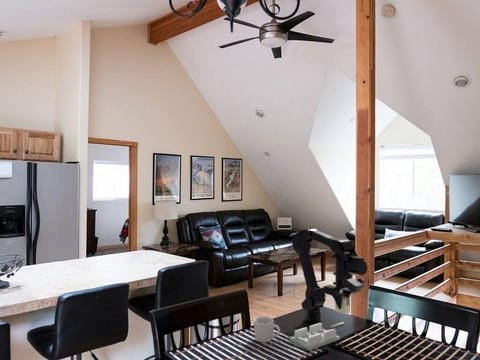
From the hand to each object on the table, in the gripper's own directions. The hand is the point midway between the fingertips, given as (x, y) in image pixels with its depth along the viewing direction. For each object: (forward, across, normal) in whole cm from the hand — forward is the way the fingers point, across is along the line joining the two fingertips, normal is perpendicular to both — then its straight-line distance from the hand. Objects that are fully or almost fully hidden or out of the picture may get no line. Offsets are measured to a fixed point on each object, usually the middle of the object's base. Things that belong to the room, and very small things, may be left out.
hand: (342, 308), depth 158 cm
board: (+11, -13, +3) cm, 17 cm away
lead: (+11, +6, +7) cm, 14 cm away
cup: (+11, -29, +14) cm, 34 cm away
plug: (+2, 0, 0) cm, 2 cm away
